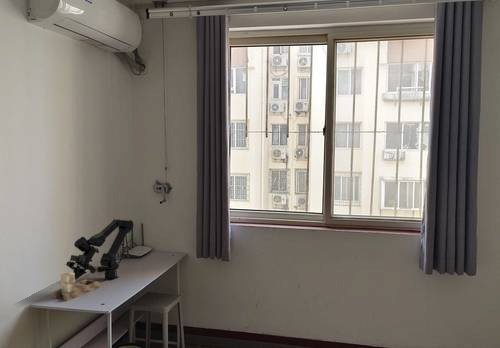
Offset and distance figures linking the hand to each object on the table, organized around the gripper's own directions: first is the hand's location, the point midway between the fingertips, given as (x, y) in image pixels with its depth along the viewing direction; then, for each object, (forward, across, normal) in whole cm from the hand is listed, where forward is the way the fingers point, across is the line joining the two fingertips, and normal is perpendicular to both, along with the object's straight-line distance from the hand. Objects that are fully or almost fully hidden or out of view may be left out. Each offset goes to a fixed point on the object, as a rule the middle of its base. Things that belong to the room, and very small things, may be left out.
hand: (72, 280), depth 234 cm
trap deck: (+4, 0, +7) cm, 8 cm away
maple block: (+5, 0, +1) cm, 5 cm away
